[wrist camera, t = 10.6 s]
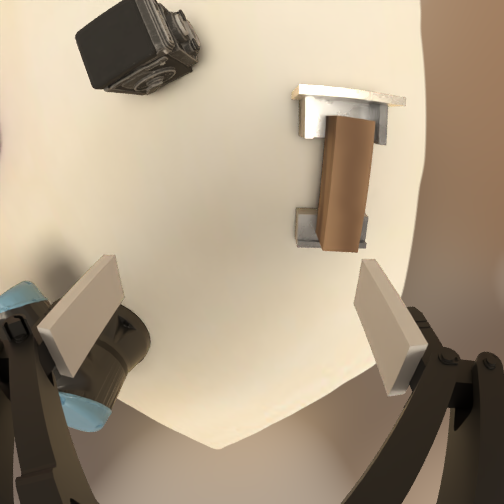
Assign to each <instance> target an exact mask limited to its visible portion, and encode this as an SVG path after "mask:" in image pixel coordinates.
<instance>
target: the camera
mask: <svg viewBox="0 0 504 504" xmlns="http://www.w3.org/2000/svg"><path fill="white" fill-rule="evenodd" d="M75 39H76V43H77V46H78V49H79V51H80V54H81V57H82V60H83V62H84V65H85V68H86V71H87V74H88V76H89V79H90V82H91V85H92V87H93V88H94V89H104V91H105V92H116V93H126V94H136V95H145V94H146V95H148V94H151V93H153V92H155V91H156V90H157V89H158V88H159V87H161V86H163V85H165V84H167V83H169V82H171V81H173V80H175V79H177V78H179V77H181V76H183V75H186V74H188V73H190V72H192V71H193V70H192V68H191V66H190V65H192V64H195V63H197V62H198V61H197V56H196V55H195V54H197V53H198V50H200V49H199V46H200V42H199V40H198V37H197V35H196V33H195V31H194V29H193V27H192V26H191V24H190V22H189V21H188V20H186V17H185V15H184V13H183V12H182V10H179V12H174V13H173V12H169V11H168V10H167V9H166V8H165V7H164V6H163V5H162V4H161V3H157V1H156V0H122V1H121V2H119V3H118V4H116V5H115V6H113V7H112V8H110V9H109V10H107V11H106V12H104V13H103V14H101V15H100V16H98V17H97V18H96V19H94V20H93V21H91V22H90V23H89V24H87V25H86V26H85V27H83V28H82V29H81V30H79V31H78V32H77V34H76V35H75Z"/></svg>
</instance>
